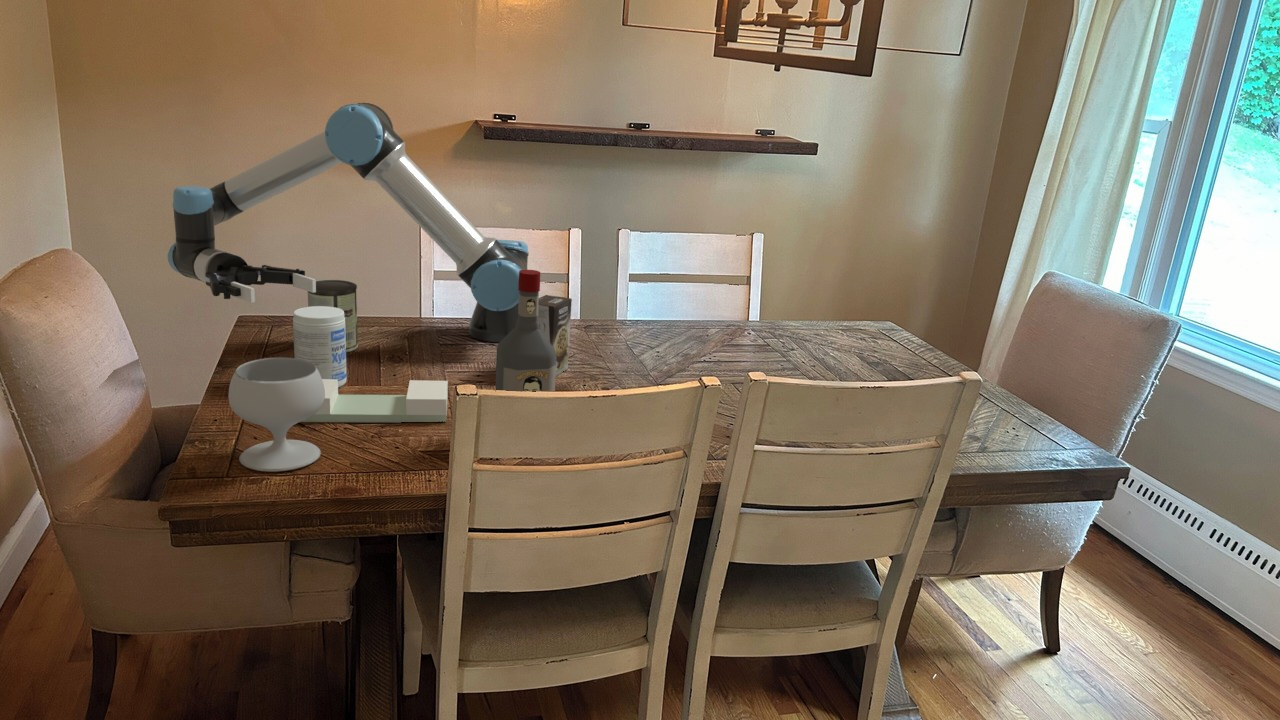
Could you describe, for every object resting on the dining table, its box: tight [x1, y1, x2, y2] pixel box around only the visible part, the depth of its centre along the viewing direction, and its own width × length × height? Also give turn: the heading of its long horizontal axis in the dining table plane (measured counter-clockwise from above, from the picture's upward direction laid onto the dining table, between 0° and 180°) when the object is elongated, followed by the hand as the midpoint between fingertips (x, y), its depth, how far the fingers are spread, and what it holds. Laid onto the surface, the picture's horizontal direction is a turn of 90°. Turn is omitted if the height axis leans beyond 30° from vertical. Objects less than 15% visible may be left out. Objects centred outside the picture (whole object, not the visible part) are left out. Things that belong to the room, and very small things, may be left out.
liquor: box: [495, 269, 557, 392], centre depth 154 cm, size 9×9×30 cm
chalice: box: [227, 357, 325, 473], centre depth 141 cm, size 14×14×15 cm
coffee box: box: [538, 294, 573, 377], centre depth 191 cm, size 9×6×16 cm
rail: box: [300, 379, 449, 423], centre depth 163 cm, size 27×10×4 cm, turn 100°
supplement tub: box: [292, 306, 348, 388], centre depth 174 cm, size 10×10×15 cm
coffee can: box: [307, 279, 359, 353], centre depth 196 cm, size 10×10×14 cm
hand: (284, 290), depth 176 cm, fingers open, 13 cm apart
